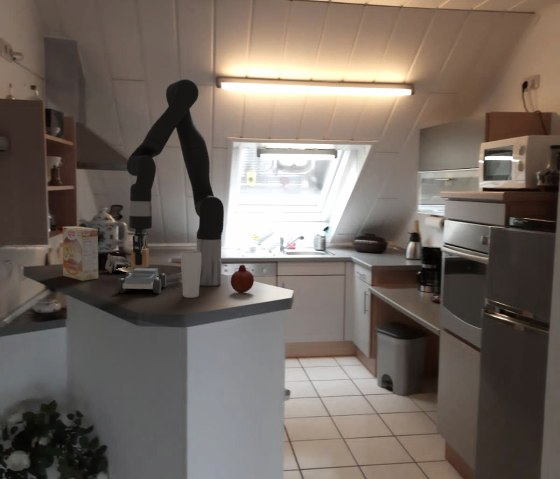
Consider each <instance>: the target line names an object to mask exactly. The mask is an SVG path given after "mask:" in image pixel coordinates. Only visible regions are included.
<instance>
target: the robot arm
mask: <svg viewBox="0 0 560 479" xmlns="http://www.w3.org/2000/svg"><path fill="white" fill-rule="evenodd" d="M199 95H200V94H199V89H198V85H197V84H196V82H194V81H193V80H191V79H187V78H185V79H180V80H177V81H175V82H173V83H170V84H169V85H168V86H167V88H166V91H165V98H166V101H167V105H168V106H167V107H166V109H165V110H164V112H163V113H162V115H160V116H159V118H158V119H157V120H156V121H155V122H154V123H153V125H152V126H151V127H150V129H149V130H148V132H147V133H146V135H145V137H144V138H143V141H142V143H140V145H139V146H138V147H136V149H134V151H133V152H132V153H131V154H130V156H129V157H128V159H127V162H126V171H127V172H128V173H129V175H131V176H133V177H136V179H135V180H136V181H135V183H133V184H131V185H130V189H129V190H130V191H129V192H130V193H129V194H130V195H129V197H130V198H129V207H128V208H129V215H128V216H129V217H128V220H129V221H128V226H129V228H130V229H132V230H133V229H134V234H133V235H132V237H131V238H132V249H133V253H135V265H142V253H143V252H142V250H143V248H148V242H149V240H148V239H149V232H147V230H150V229H152V228H153V206H152V188H153V186H154V181H155V177H156V172H157V166H156V162H155V159H154V158H155V157H158V156H159V155H161V153H162V152H163V150H164V148H165V146H166V144H167V143H168V141H169V140H170V138H171V136H172V134H173V132H174V131H175V129H176V133H177V134H176V135H177V136H178V137H177V138H178V140H179V141H178V142H179V145H180V150H181V153H182V158H183V161H184V164H185V168H186V171H187V172H186V173H187V176H188V179H189V182H190V185H191V186H190V187H191V190H192V197H193V205H194V210H195V214H196V215H197V216H198V217H199V220H198V221H199V224H198V229H197V231H196V251H199V252H201V274H200V285H199V286H205V287H207V286H209V287H211V286H221V285H222V284H221V283H222V235H223V234H222V233H223V230H224V218H225V210H224V204H223V202H222V200H221V198H219V197H217V196H214V192H213V188H212V186H211V180H210V164H211V163H210V155H209V150H208V146H207V144H206V140H205V138H204V136H203V135H202V133H201V131H199V129H198V128H197V126H196V124H195V122H194V120H193V118H192V114H191V111H190V109H191V108H192V107H193V105H194V104H195V103H196V102H197V100H198V98H199ZM137 248H139V249H137Z"/></svg>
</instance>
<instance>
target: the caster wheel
mask: <svg viewBox="0 0 560 479" xmlns="http://www.w3.org/2000/svg"><path fill="white" fill-rule="evenodd" d="M105 262H106V263H105V265H104V266H105V267H104V268H105V270H106V271H108V272H109V273H110V274H112V271H113V272H116V271H115V270H116V269H118V268H122V267H126V268H128V267H131V262H129V261H128V259H127V258H126V257H124V256H117V255H111V254H110V253H108V254H107V258H106V261H105Z"/></svg>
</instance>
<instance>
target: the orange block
mask: <svg viewBox="0 0 560 479" xmlns="http://www.w3.org/2000/svg"><path fill="white" fill-rule="evenodd" d="M137 249H139V248H137ZM130 252H131V254H130V256H131V257H130V260H131V261H130V263H131V267H136V268H148V267H149V266H150V248H143V250H142V252H143V253H142V265H135V253H133V248H132V249H131V250H130Z"/></svg>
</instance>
